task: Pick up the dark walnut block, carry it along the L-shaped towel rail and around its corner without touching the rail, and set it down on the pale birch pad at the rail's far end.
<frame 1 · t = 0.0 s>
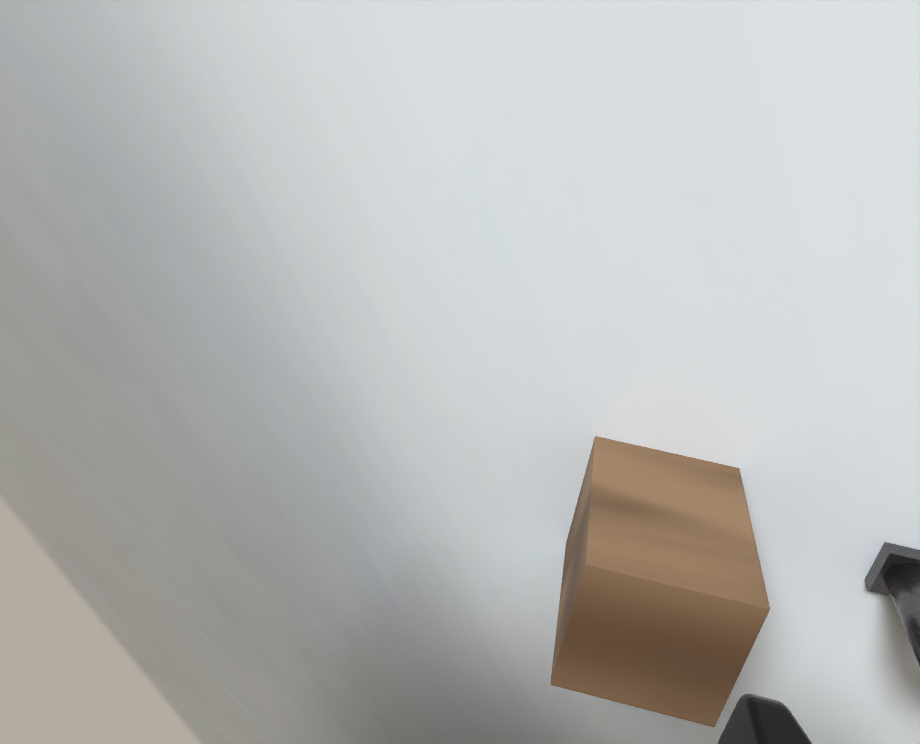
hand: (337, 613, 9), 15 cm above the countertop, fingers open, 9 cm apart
walnut block: (647, 507, 25), on the countertop
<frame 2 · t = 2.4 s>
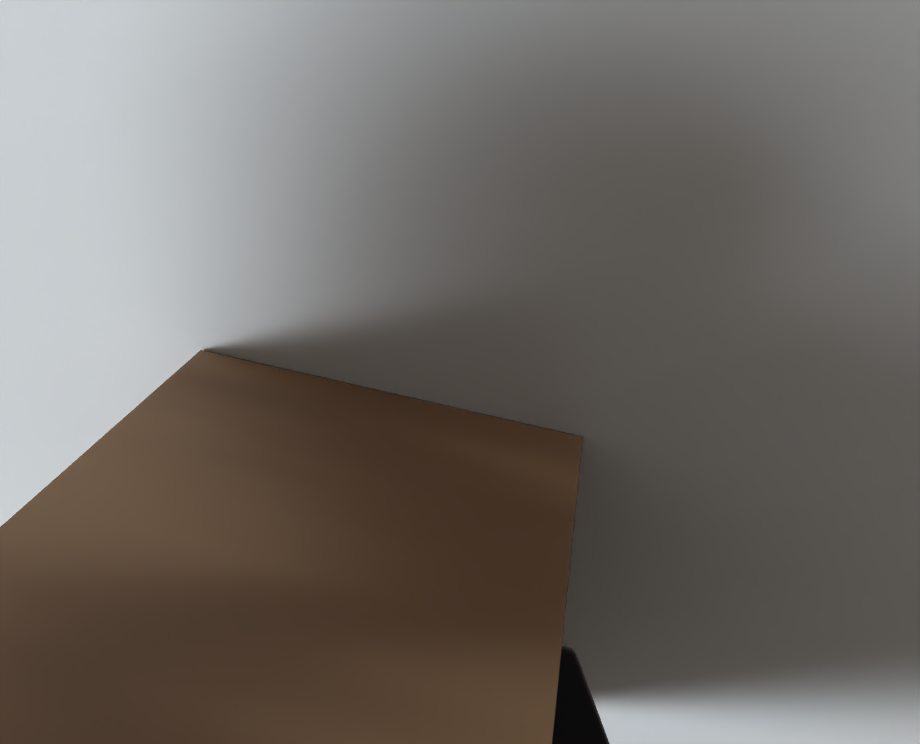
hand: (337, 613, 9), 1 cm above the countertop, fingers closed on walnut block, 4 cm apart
walnut block: (370, 541, 10), on the countertop, touching gripper
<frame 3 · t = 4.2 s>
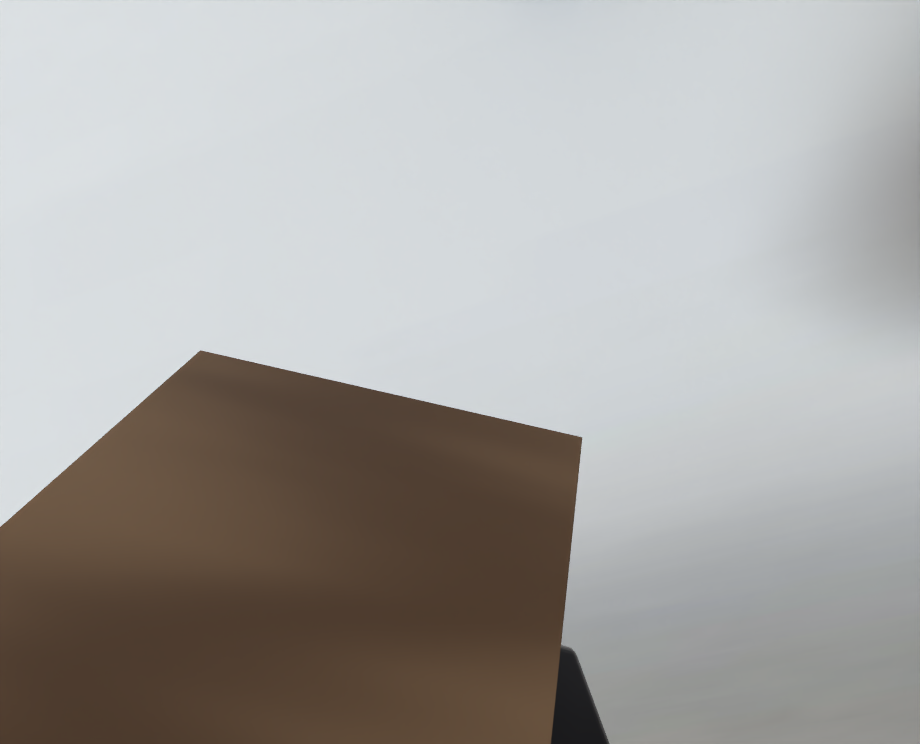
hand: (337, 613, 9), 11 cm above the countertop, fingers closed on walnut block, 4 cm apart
walnut block: (369, 542, 10), point 10 cm above the countertop, touching gripper
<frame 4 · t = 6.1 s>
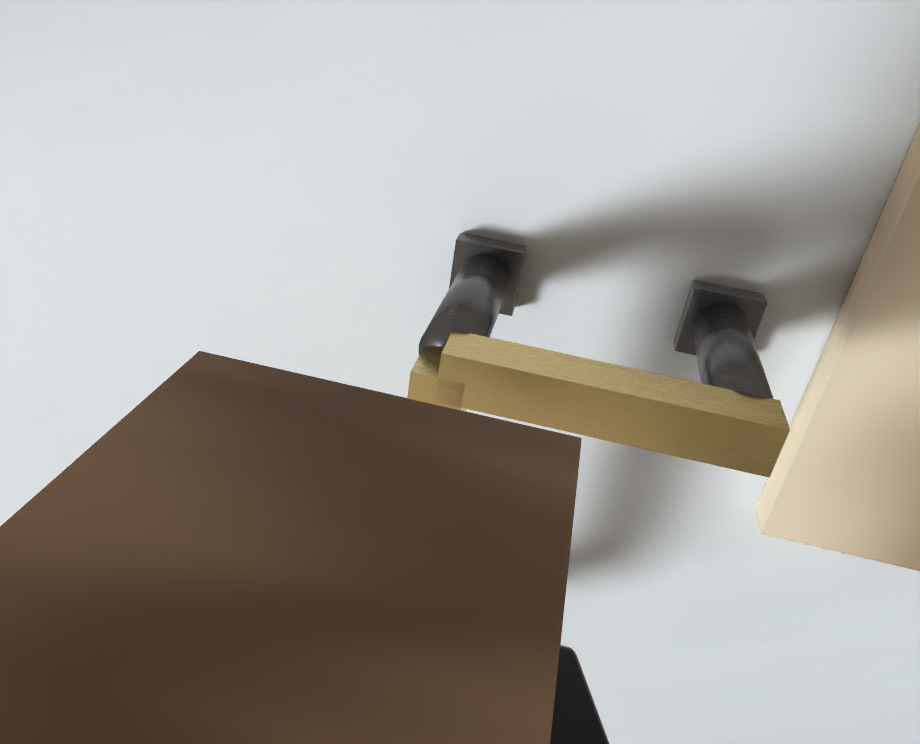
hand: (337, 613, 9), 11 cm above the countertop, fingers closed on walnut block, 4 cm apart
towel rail: (488, 271, 18), on the countertop
walnut block: (369, 542, 10), point 10 cm above the countertop, touching gripper
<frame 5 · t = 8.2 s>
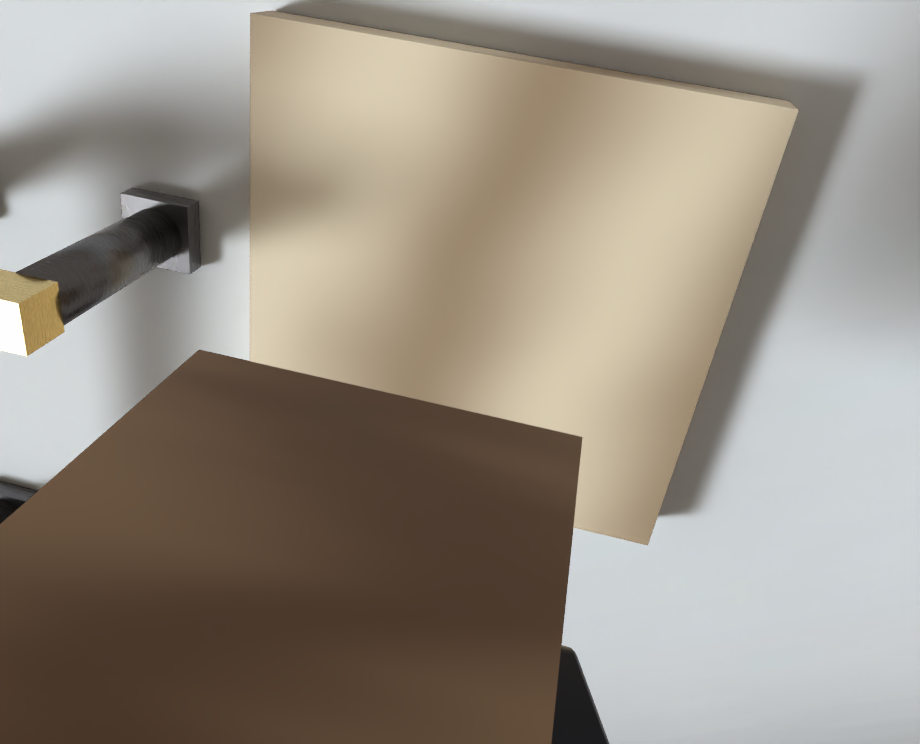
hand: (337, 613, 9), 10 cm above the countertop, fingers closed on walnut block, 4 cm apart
walnut block: (369, 542, 10), point 8 cm above the countertop, touching gripper
birch pad: (481, 293, 17), on the countertop
when the fingers open (4 cm above the countertop, at t = 9.8 s): walnut block drops 1 cm, resting on birch pad.
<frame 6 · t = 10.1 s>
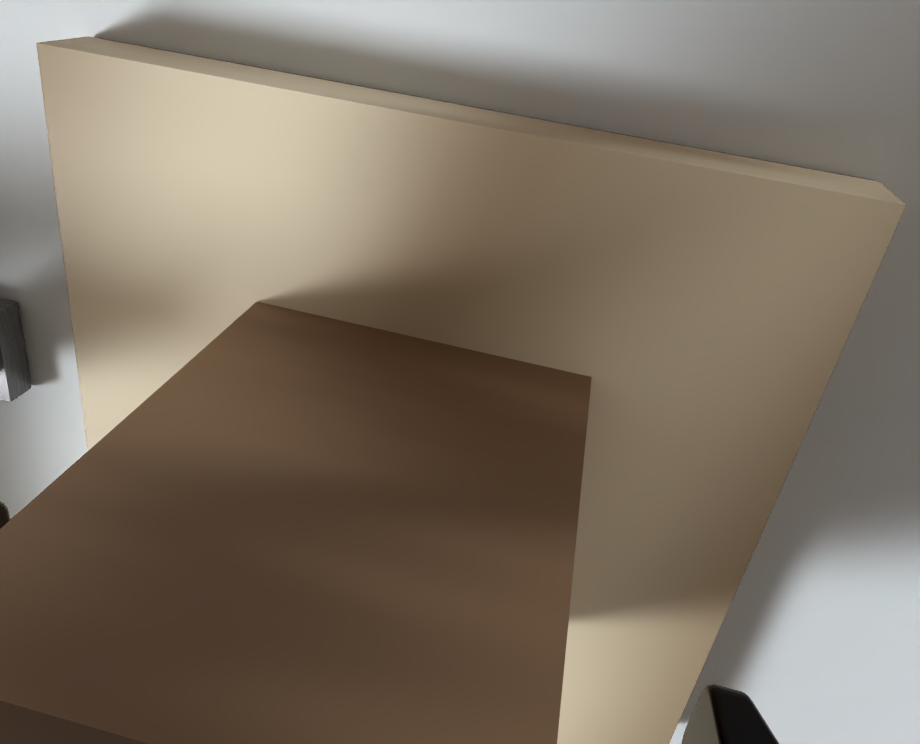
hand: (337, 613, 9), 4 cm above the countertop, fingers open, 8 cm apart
walnut block: (401, 475, 11), point 1 cm above the countertop, touching birch pad
birch pad: (417, 437, 12), on the countertop
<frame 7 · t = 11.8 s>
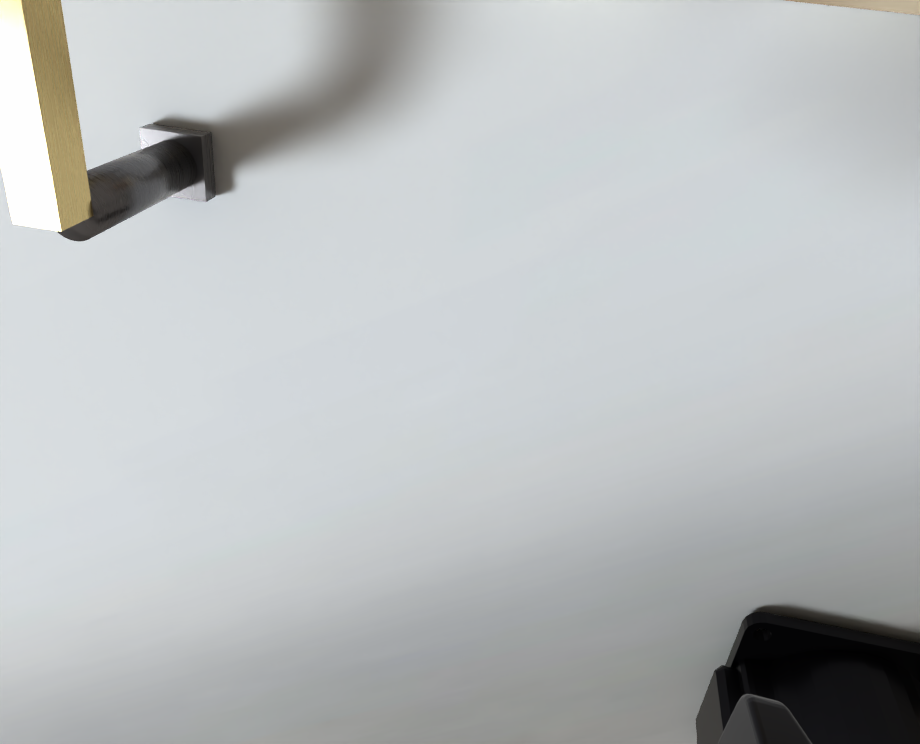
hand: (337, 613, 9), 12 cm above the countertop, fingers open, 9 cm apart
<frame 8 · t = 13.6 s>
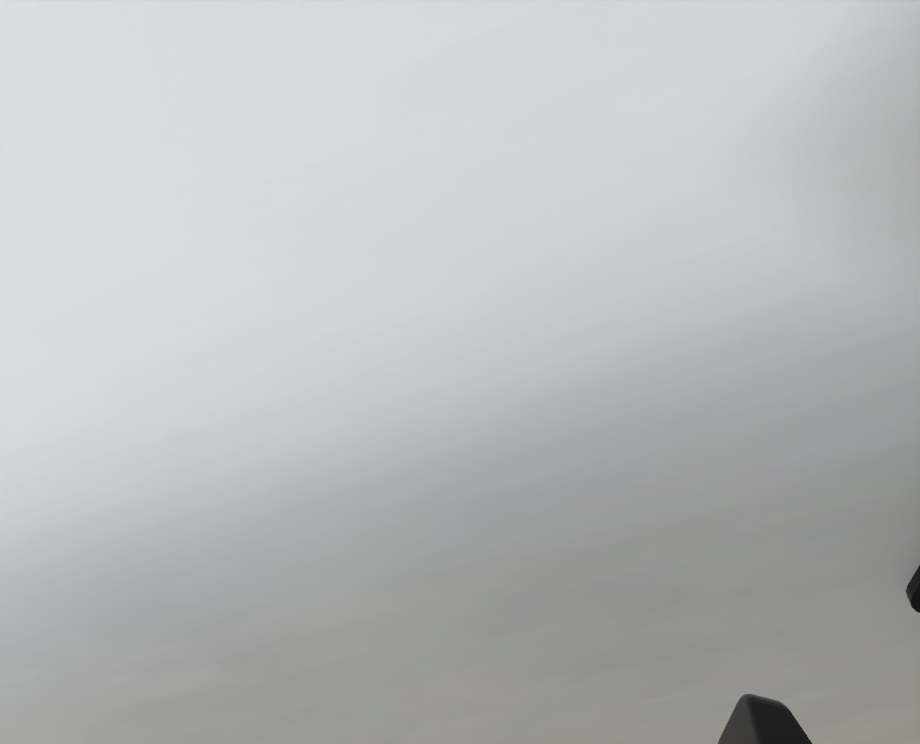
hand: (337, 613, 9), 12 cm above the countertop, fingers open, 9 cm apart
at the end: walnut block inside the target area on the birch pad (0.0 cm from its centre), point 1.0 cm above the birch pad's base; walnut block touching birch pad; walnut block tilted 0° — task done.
